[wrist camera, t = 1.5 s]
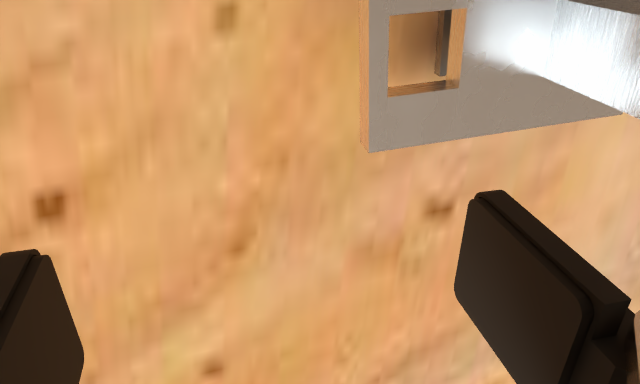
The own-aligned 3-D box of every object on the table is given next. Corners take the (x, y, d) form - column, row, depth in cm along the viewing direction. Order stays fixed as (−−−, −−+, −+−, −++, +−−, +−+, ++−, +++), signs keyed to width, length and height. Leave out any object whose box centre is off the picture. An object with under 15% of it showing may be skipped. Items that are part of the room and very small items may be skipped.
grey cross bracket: (320, -61, 28) (441, -46, 14) (557, -77, 31) (843, -77, 17) (328, 100, 33) (422, 222, 20) (530, 74, 36) (736, 164, 22)
